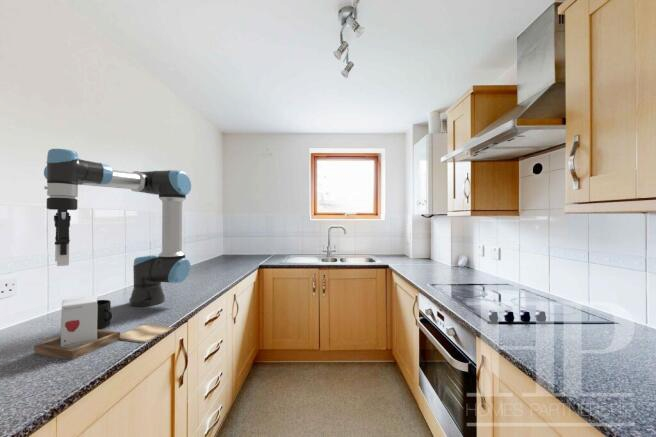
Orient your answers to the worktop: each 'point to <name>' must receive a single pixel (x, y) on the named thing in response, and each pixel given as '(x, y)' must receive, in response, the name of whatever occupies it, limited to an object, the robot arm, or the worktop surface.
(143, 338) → the light wooden block
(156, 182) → the robot arm
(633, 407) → the worktop surface
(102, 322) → the mug
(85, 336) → the supplement box
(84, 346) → the walnut frame
